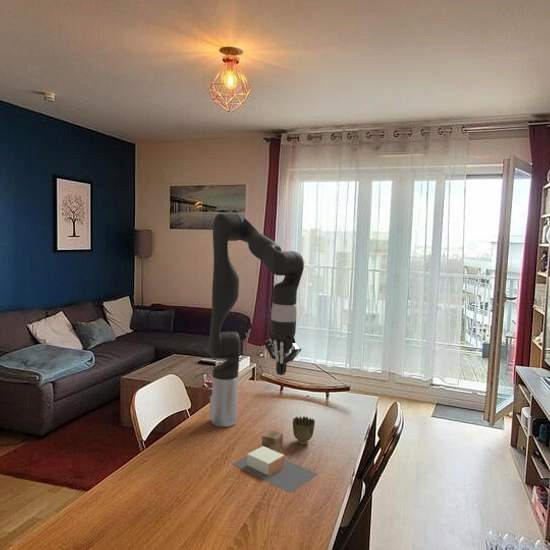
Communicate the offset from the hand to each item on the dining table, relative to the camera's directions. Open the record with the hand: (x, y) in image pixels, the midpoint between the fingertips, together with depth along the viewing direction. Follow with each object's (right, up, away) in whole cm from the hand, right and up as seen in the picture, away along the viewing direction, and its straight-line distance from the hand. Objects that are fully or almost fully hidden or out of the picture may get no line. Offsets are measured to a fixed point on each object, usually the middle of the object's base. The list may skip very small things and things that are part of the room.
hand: (281, 374), depth 138 cm
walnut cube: (-3, -26, +9) cm, 28 cm away
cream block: (-1, -25, -6) cm, 26 cm away
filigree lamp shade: (+7, -26, +13) cm, 30 cm away
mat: (-2, -27, -5) cm, 28 cm away
